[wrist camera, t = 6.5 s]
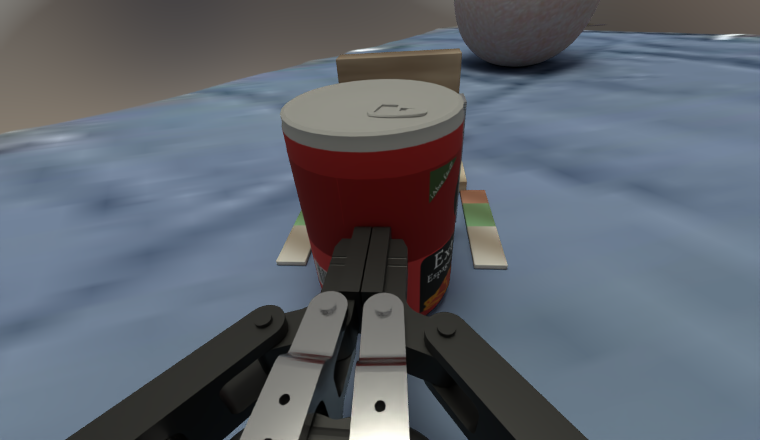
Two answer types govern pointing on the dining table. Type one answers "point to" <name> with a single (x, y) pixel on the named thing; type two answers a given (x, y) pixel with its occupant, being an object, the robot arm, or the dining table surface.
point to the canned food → (380, 171)
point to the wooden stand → (477, 212)
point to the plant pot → (521, 28)
